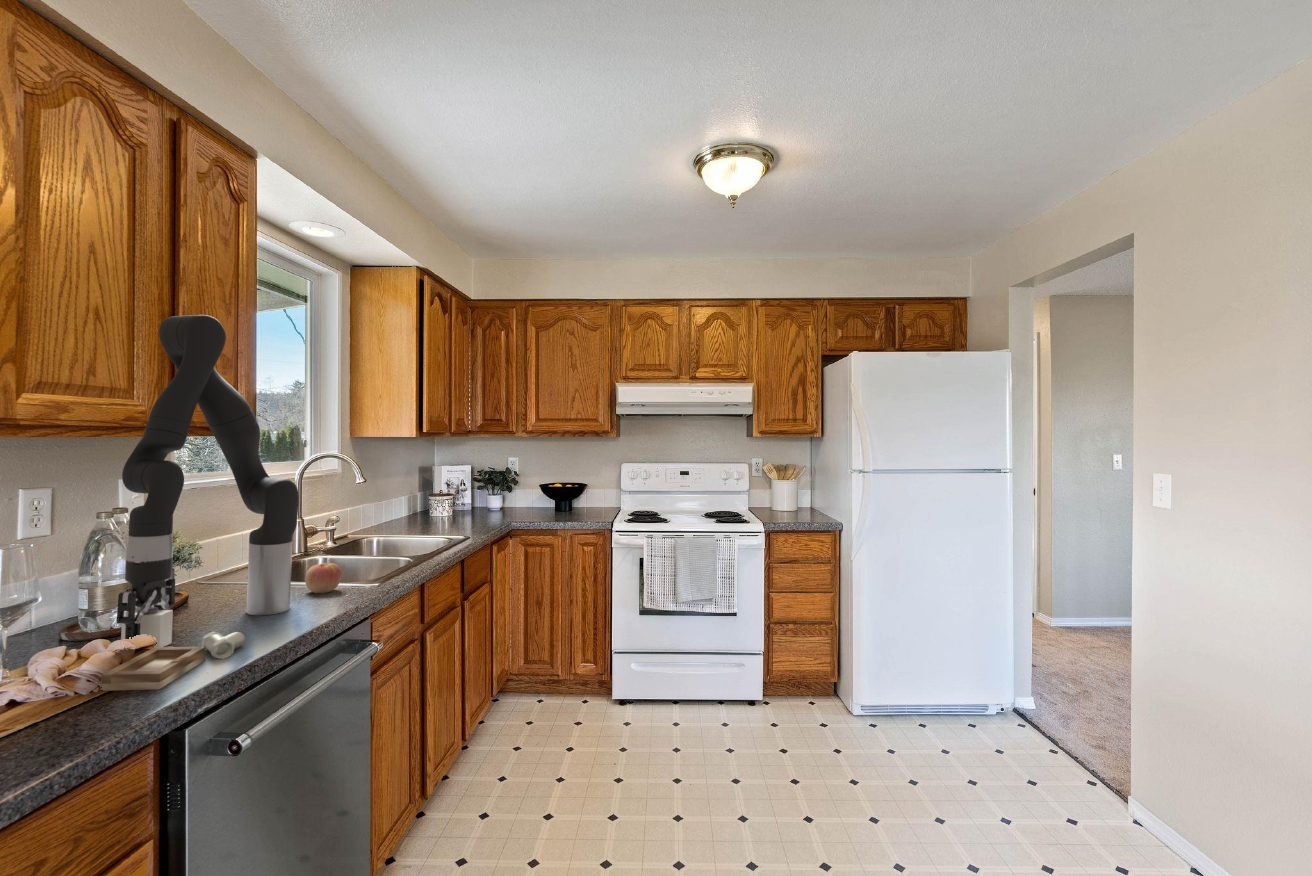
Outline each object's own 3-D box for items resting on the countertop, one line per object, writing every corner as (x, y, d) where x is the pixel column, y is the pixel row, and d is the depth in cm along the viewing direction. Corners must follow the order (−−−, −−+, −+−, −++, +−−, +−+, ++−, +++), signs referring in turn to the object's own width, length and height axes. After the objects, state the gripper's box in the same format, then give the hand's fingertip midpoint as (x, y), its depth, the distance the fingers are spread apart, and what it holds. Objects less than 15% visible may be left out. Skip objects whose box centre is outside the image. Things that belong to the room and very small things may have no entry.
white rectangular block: (134, 643, 128) (135, 606, 128) (171, 643, 129) (172, 606, 129) (120, 650, 124) (122, 611, 124) (159, 649, 125) (160, 611, 125)
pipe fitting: (239, 646, 131) (200, 651, 125) (241, 627, 131) (203, 631, 126) (251, 655, 125) (212, 661, 120) (254, 636, 126) (215, 641, 120)
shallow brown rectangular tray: (153, 661, 119) (154, 646, 119) (205, 660, 120) (205, 645, 120) (100, 690, 105) (101, 673, 105) (159, 689, 106) (160, 672, 106)
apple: (346, 590, 176) (348, 562, 176) (318, 597, 168) (319, 568, 168) (325, 586, 180) (326, 559, 180) (297, 593, 172) (298, 564, 172)
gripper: (152, 550, 133) (148, 625, 133) (104, 563, 119) (100, 647, 119) (190, 550, 134) (186, 625, 134) (147, 563, 120) (143, 646, 120)
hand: (146, 635), depth 127 cm, fingers open, 8 cm apart
